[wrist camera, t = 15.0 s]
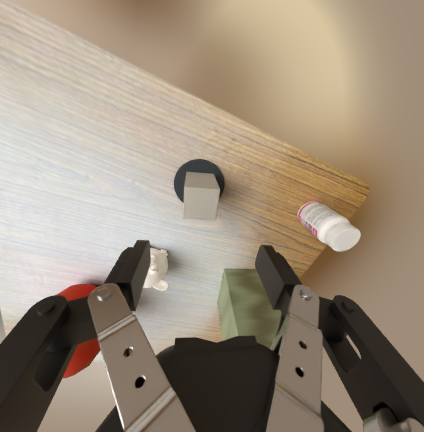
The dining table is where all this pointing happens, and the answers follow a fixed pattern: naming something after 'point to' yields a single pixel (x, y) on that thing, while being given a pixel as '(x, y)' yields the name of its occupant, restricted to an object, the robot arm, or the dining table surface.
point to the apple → (87, 349)
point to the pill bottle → (328, 226)
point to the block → (200, 196)
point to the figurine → (157, 270)
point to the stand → (246, 307)
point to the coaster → (199, 167)
